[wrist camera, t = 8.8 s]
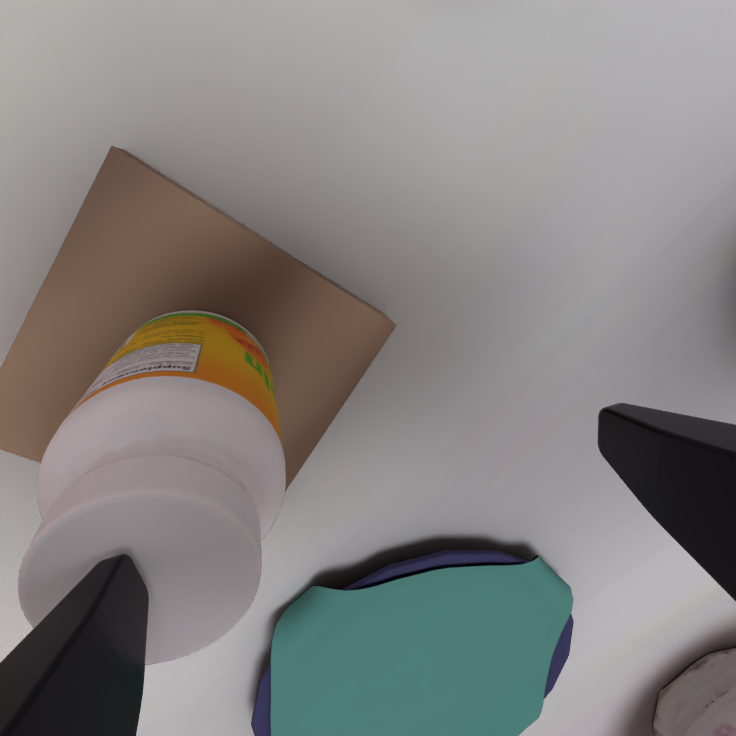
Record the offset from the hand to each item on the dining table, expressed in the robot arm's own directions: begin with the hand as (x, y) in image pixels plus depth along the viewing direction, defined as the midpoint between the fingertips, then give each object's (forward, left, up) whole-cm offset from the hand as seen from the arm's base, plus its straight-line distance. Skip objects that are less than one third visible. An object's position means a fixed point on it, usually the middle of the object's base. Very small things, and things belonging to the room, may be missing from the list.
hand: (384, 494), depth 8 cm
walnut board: (+3, +3, -11) cm, 12 cm away
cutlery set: (-20, +19, -12) cm, 30 cm away
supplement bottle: (+3, +4, -10) cm, 11 cm away
